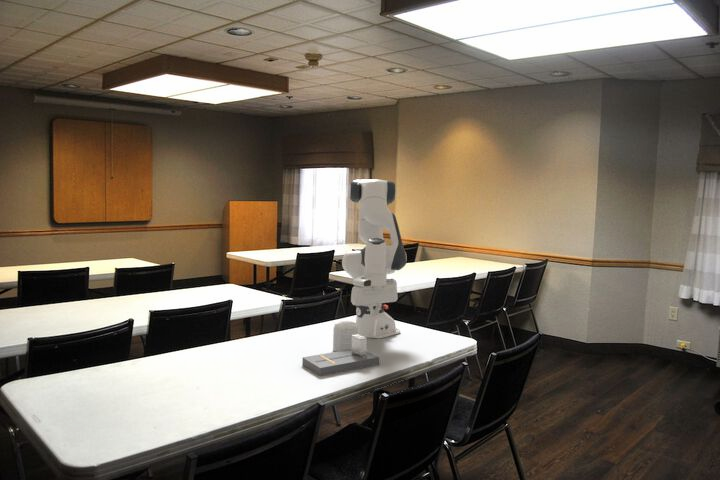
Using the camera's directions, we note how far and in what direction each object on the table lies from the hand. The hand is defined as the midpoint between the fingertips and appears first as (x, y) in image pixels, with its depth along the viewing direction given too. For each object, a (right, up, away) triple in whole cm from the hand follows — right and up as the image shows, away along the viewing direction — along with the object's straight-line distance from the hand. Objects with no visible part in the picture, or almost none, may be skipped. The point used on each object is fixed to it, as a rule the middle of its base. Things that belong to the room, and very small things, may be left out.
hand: (374, 314), depth 213 cm
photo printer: (-12, -17, +12) cm, 24 cm away
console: (-13, -18, -6) cm, 23 cm away
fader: (-6, -15, -2) cm, 16 cm away
